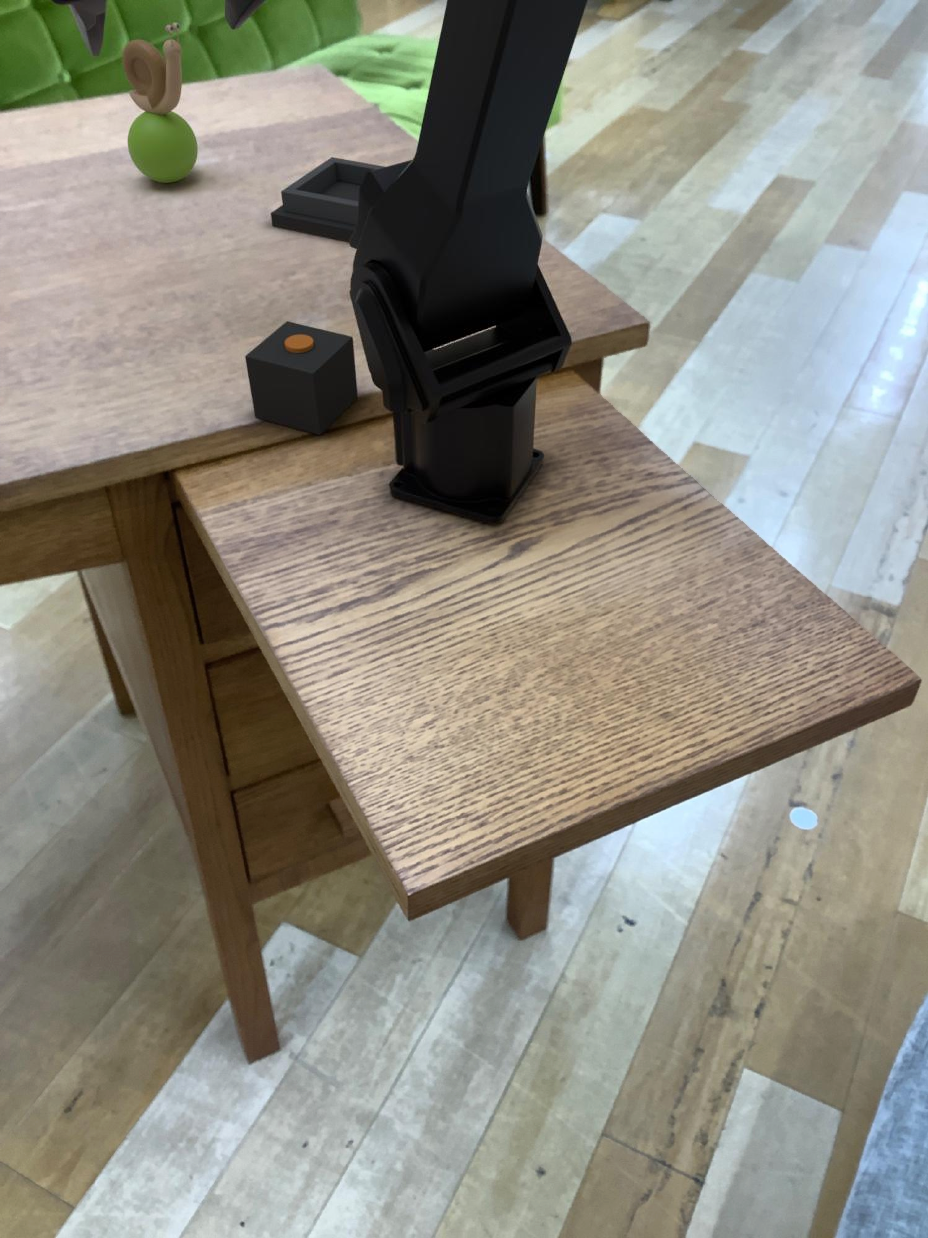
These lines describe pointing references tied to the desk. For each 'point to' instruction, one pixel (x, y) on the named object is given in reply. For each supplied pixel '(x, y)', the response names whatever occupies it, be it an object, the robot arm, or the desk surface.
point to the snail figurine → (158, 111)
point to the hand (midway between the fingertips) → (163, 36)
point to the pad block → (302, 377)
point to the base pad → (324, 200)
